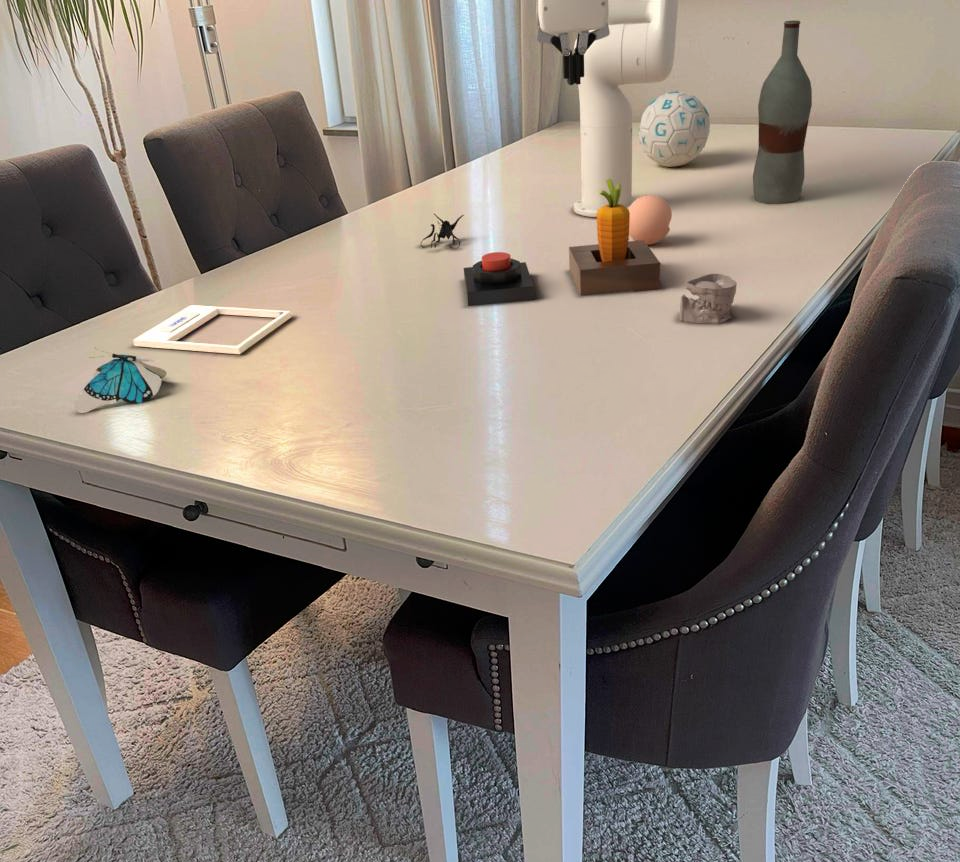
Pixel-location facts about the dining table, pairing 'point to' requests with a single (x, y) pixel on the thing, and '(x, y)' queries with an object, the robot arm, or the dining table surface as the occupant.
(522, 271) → the panel
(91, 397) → the decorative butterfly
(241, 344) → the photo frame
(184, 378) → the dining table surface
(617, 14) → the robot arm
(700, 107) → the puzzle ball
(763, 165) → the bottle
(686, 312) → the dental mold
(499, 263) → the button
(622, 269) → the holder
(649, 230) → the toy ball
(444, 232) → the creature
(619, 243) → the carrot
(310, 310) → the dining table surface
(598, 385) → the dining table surface
